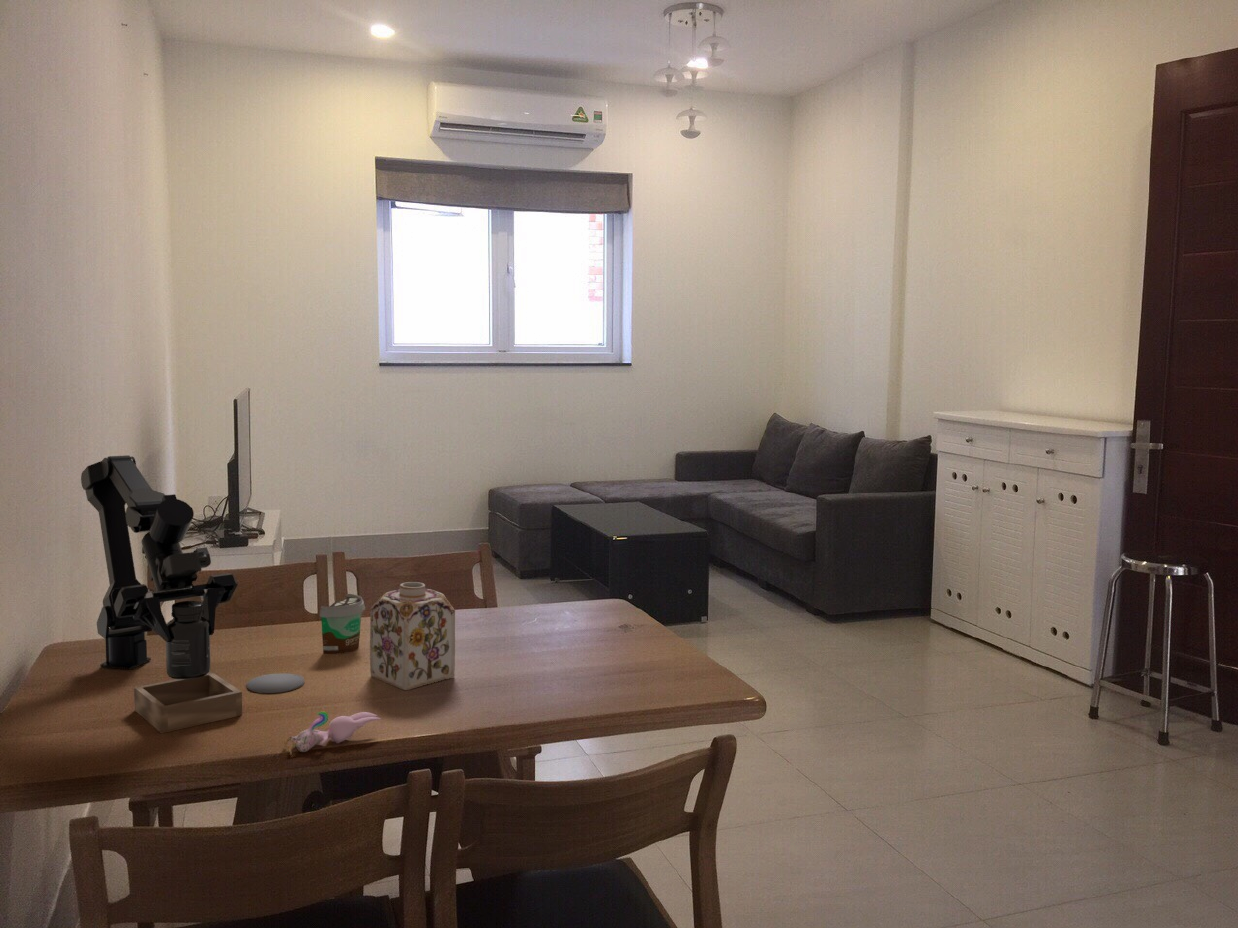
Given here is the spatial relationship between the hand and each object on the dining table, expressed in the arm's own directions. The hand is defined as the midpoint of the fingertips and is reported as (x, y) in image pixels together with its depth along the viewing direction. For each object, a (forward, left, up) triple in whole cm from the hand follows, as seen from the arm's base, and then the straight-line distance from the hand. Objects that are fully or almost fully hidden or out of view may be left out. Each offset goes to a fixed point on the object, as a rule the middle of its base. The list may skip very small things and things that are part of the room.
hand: (191, 637), depth 167 cm
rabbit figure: (+28, -4, -14) cm, 31 cm away
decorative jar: (+27, +28, -13) cm, 41 cm away
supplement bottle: (-1, +1, -7) cm, 7 cm away
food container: (+7, +41, -13) cm, 44 cm away
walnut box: (-1, 0, -13) cm, 13 cm away
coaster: (+5, +17, -13) cm, 22 cm away
